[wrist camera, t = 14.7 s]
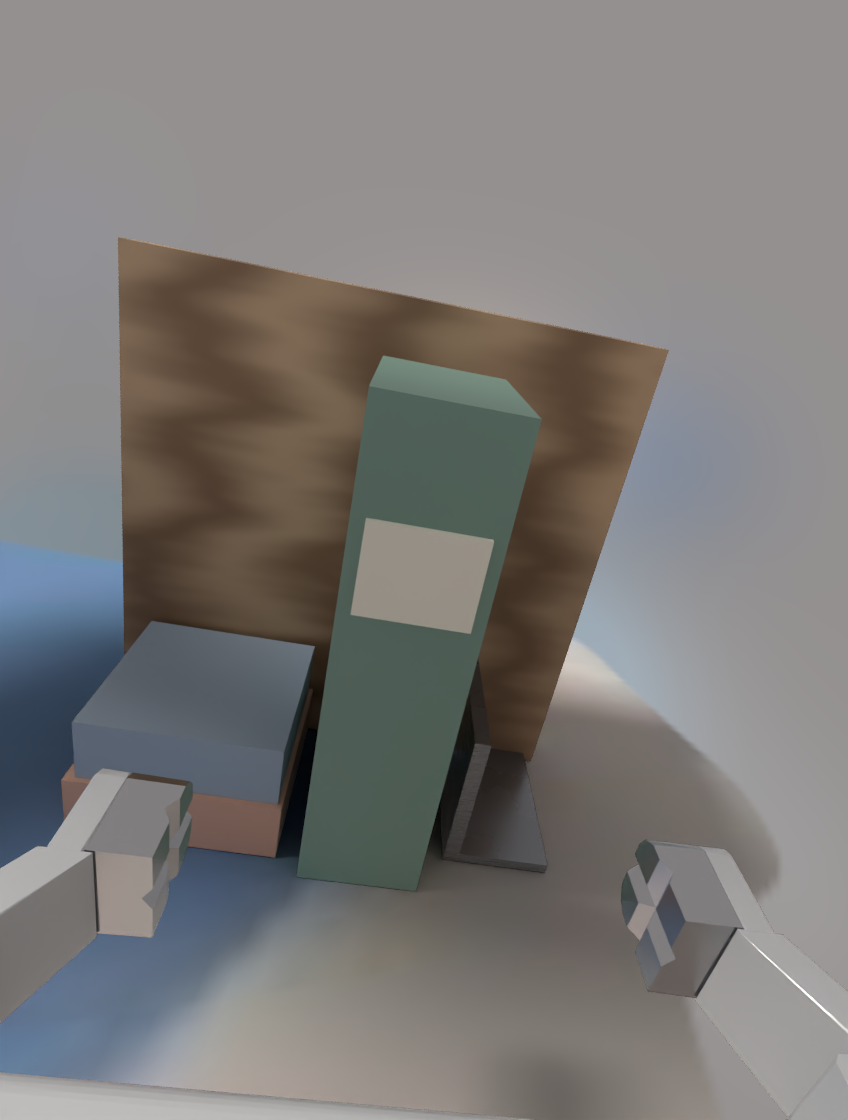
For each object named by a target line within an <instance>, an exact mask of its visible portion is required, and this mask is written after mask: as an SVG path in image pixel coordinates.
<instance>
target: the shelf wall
mask: <svg viewBox="0 0 848 1120" xmlns="http://www.w3.org/2000/svg"><path fill="white" fill-rule="evenodd" d="M118 255H119V256H118V262H119V324H120V325H119V327H120V391H121V392H120V393H121V457H122V458H121V459H122V460H121V461H122V522H123V524H122V526H123V594H124V655H125V654H126V653H127V651H128V650H129V649H130V648H131V646H132V645H133V644H134V643H135V641H136V640H137V639H138V638H139V636H140V635H141V634H142V633H143V631H144V630H145V629H146V627H147V626H148V625H149V624H150V622H151V621H155V622H162V623H168V624H174V625H181V626H187V627H194V628H200V629H207V630H213V631H219V632H226V633H232V634H239V635H245V636H251V637H258V638H264V639H271V640H277V641H283V642H290V643H296V644H303V645H309V646H315V648H314V656H313V663H312V670H311V678H310V685H309V689H313V694H312V701H311V708H310V715H309V722H308V728H310V729H317V730H318V727H319V720H320V713H321V706H322V700H323V693H324V686H325V679H326V673H327V666H328V659H329V652H330V646H331V639H332V632H333V625H334V619H335V612H336V605H337V598H338V592H339V585H340V578H341V571H342V565H343V558H344V551H345V544H346V538H347V531H348V524H349V517H350V511H351V504H352V497H353V490H354V484H355V477H356V470H357V463H358V457H359V450H360V443H361V436H362V430H363V423H364V416H365V409H366V403H367V396H368V389H369V385H370V383H371V381H372V378H373V376H374V374H375V372H376V370H377V368H378V366H379V363H380V361H381V359H382V357H383V355H384V356H389V357H394V358H399V359H404V360H409V361H414V362H419V363H424V364H429V365H435V366H440V367H445V368H450V369H455V370H460V371H465V372H470V373H475V374H480V375H485V376H491V377H496V378H501V379H506V380H507V381H508V382H509V383H510V384H511V386H512V387H513V388H514V389H515V390H516V391H517V392H518V393H519V394H520V395H521V397H522V398H523V399H524V400H525V401H526V402H527V403H528V404H529V405H530V407H531V408H532V409H533V410H534V411H535V412H536V413H537V414H538V415H539V417H540V418H541V419H542V420H541V424H540V428H539V432H538V435H537V439H536V443H535V447H534V450H533V454H532V458H531V462H530V465H529V469H528V473H527V477H526V480H525V484H524V488H523V492H522V495H521V499H520V503H519V507H518V510H517V514H516V518H515V522H514V525H513V529H512V533H511V537H510V540H509V544H508V548H507V552H506V555H505V559H504V563H503V566H502V570H501V574H500V578H499V581H498V585H497V589H496V593H495V596H494V600H493V604H492V608H491V611H490V615H489V619H488V623H487V626H486V630H485V634H484V638H483V641H482V645H481V649H480V653H479V656H478V660H479V666H480V673H481V679H482V686H483V693H484V699H485V706H486V712H487V719H488V725H489V732H490V739H491V745H492V746H491V748H492V749H499V750H506V751H513V752H519V753H523V754H524V759H525V760H531V759H532V756H533V753H534V750H535V747H536V744H537V741H538V738H539V735H540V732H541V729H542V726H543V723H544V720H545V717H546V714H547V711H548V708H549V705H550V702H551V699H552V696H553V693H554V690H555V687H556V684H557V681H558V678H559V675H560V672H561V669H562V666H563V663H564V660H565V657H566V654H567V651H568V648H569V645H570V642H571V640H572V637H573V633H574V631H575V628H576V625H577V622H578V619H579V616H580V613H581V610H582V607H583V604H584V601H585V598H586V595H587V592H588V589H589V586H590V583H591V580H592V577H593V574H594V571H595V568H596V565H597V562H598V559H599V556H600V553H601V550H602V547H603V544H604V541H605V538H606V535H607V532H608V529H609V526H610V523H611V521H612V517H613V515H614V512H615V509H616V506H617V502H618V500H619V497H620V494H621V491H622V488H623V485H624V482H625V479H626V476H627V473H628V470H629V467H630V464H631V461H632V458H633V455H634V452H635V449H636V446H637V443H638V440H639V437H640V434H641V431H642V428H643V425H644V422H645V419H646V416H647V413H648V410H649V407H650V404H651V401H652V399H653V396H654V393H655V389H656V387H657V384H658V381H659V377H660V375H661V372H662V369H663V366H664V363H665V360H666V357H667V354H668V350H666V349H662V348H659V347H655V346H650V345H646V344H641V343H636V342H631V341H626V340H622V339H616V338H612V337H606V336H602V335H597V334H592V333H587V332H583V331H578V330H572V329H568V328H563V327H558V326H553V325H548V324H544V323H539V322H534V321H529V320H524V319H519V318H514V317H509V316H505V315H500V314H495V313H490V312H485V311H480V310H475V309H470V308H466V307H461V306H456V305H450V304H446V303H441V302H436V301H431V300H427V299H422V298H416V297H412V296H407V295H402V294H397V293H392V292H388V291H382V290H378V289H373V288H368V287H363V286H358V285H353V284H348V283H344V282H338V281H334V280H329V279H324V278H318V277H314V276H309V275H305V274H299V273H295V272H290V271H285V270H280V269H275V268H270V267H265V266H260V265H256V264H251V263H246V262H241V261H236V260H231V259H227V258H222V257H216V256H212V255H207V254H202V253H197V252H192V251H188V250H183V249H178V248H173V247H168V246H163V245H158V244H153V243H149V242H144V241H139V240H132V239H126V238H118Z"/></svg>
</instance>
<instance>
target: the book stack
mask: <svg viewBox="0 0 848 1120" xmlns="http://www.w3.org/2000/svg"><path fill="white" fill-rule="evenodd" d="M314 648H315V646H309V645H303V644H296V643H290V642H283V641H277V640H271V639H264V638H258V637H251V636H245V635H239V634H232V633H226V632H219V631H213V630H207V629H200V628H194V627H187V626H181V625H174V624H168V623H162V622H155V621H151V622H150V624H149V625H148V626H147V627H146V629H145V630H144V631H143V633H142V634H141V635H140V636H139V638H138V639H137V640H136V641H135V643H134V644H133V645H132V646H131V648H130V649H129V650H128V651H127V653H126V654H125V655H124V656H123V658H122V659H121V660H120V662H119V663H118V664H117V665H116V667H115V668H114V669H113V670H112V672H111V673H110V674H109V675H108V677H107V678H106V679H105V680H104V682H103V683H102V684H101V685H100V687H99V688H98V689H97V691H96V692H95V693H94V694H93V696H92V697H91V698H90V699H89V701H88V702H87V703H86V704H85V706H84V707H83V708H82V709H81V711H80V712H79V713H78V714H77V716H76V717H75V718H74V720H73V721H72V737H73V754H74V763H73V764H72V766H71V767H70V768H69V770H68V771H67V772H66V774H65V775H64V777H63V778H62V779H61V786H62V800H63V814H64V820H65V819H66V817H67V816H68V814H69V813H70V811H71V810H72V808H73V807H74V805H75V804H76V802H77V801H78V799H79V798H80V796H81V795H82V793H83V792H84V790H85V789H86V787H87V786H88V784H89V783H90V781H91V779H92V778H93V776H94V775H95V774H96V773H98V772H99V771H100V770H101V769H103V768H104V769H111V770H117V771H124V772H130V773H140V774H146V775H153V776H159V777H166V778H172V779H178V780H185V781H190V782H192V783H193V798H192V800H191V803H190V805H189V807H188V810H187V811H188V812H189V814H190V815H191V816H192V825H191V833H190V839H189V843H188V847H196V848H203V849H211V850H219V851H227V852H235V853H243V854H251V855H258V856H266V857H274V858H275V857H276V853H277V849H278V845H279V841H280V837H281V833H282V829H283V825H284V821H285V817H286V813H287V809H288V805H289V801H290V798H291V794H292V790H293V786H294V782H295V778H296V774H297V770H298V766H299V762H300V758H301V754H302V750H303V746H304V742H305V738H306V734H307V730H308V722H309V715H310V708H311V701H312V694H313V689H309V685H310V678H311V670H312V663H313V656H314Z"/></svg>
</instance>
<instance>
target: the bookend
mask: <svg viewBox="0 0 848 1120" xmlns="http://www.w3.org/2000/svg"><path fill="white" fill-rule="evenodd" d="M491 746H492V745H491V739H490V732H489V725H488V719H487V712H486V706H485V699H484V693H483V686H482V679H481V673H480V666H479V660H477V664H476V668H475V671H474V675H473V679H472V683H471V686H470V690H469V694H468V698H467V701H466V705H465V709H464V713H463V716H462V720H461V724H460V728H459V731H458V735H457V739H456V743H455V746H454V750H453V754H452V758H451V761H450V765H449V769H448V773H447V776H446V780H445V784H444V788H443V791H442V795H441V799H440V804H441V830H442V857H443V859H445V860H453V861H460V862H468V863H476V864H484V865H491V866H499V867H507V868H514V869H522V870H530V871H537V872H545V871H546V869H547V866H548V865H547V860H546V856H545V851H544V847H543V842H542V837H541V833H540V828H539V824H538V819H537V814H536V810H535V805H534V801H533V796H532V791H531V787H530V782H529V777H528V773H527V768H526V764H525V759H524V754H523V753H519V752H513V751H506V750H499V749H492V748H491Z"/></svg>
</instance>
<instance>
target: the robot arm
mask: <svg viewBox="0 0 848 1120" xmlns="http://www.w3.org/2000/svg"><path fill="white" fill-rule="evenodd" d="M192 798H193V783H192V782H190V781H185V780H178V779H172V778H166V777H159V776H153V775H146V774H140V773H130V772H124V771H117V770H111V769H104V768H103V769H101V770H100V771H99V772H98V773H96V774H95V775H94V776H93V778H92V779H91V781H90V783H89V784H88V786H87V787H86V789H85V790H84V792H83V793H82V795H81V796H80V798H79V799H78V801H77V802H76V804H75V805H74V807H73V808H72V810H71V811H70V813H69V814H68V816H67V817H66V819H65V820H64V822H63V823H62V825H61V826H60V828H59V829H58V831H57V832H56V834H55V835H54V837H53V838H52V840H51V841H50V843H49V844H48V846H47V847H42V846H37V847H35V848H33V849H32V850H30V851H28V852H27V853H25V854H23V855H22V856H20V857H18V858H17V859H15V860H13V861H12V862H10V863H8V864H7V865H5V866H3V867H2V868H0V1023H2V1022H3V1021H4V1020H5V1019H6V1018H7V1017H8V1016H9V1015H10V1014H12V1013H13V1012H14V1011H15V1010H16V1009H17V1008H18V1007H19V1006H20V1005H22V1004H23V1003H24V1002H25V1001H26V1000H27V999H28V998H29V997H30V996H32V995H33V994H34V993H35V992H36V991H37V990H38V989H39V988H41V987H42V986H43V985H44V984H45V983H46V982H47V981H48V980H49V979H51V978H52V977H53V976H54V975H55V974H56V973H57V972H58V971H59V970H61V969H62V968H63V967H64V966H65V965H66V964H67V963H68V962H69V961H71V960H72V959H73V958H74V957H75V956H76V955H77V954H78V953H79V952H81V951H82V950H83V949H84V948H85V947H86V946H87V945H88V944H89V943H91V942H92V941H93V940H94V939H95V938H96V937H97V933H101V934H113V935H126V936H139V937H153V935H154V932H155V930H156V927H157V925H158V922H159V920H160V918H161V915H162V913H163V910H164V908H165V905H166V903H167V901H168V887H169V881H170V880H172V879H173V878H174V877H176V876H177V875H178V874H179V871H180V868H181V866H182V863H183V861H184V858H185V854H186V851H187V847H188V843H189V839H190V833H191V825H192V816H191V815H190V814H189V812H188V811H187V810H188V807H189V805H190V803H191V800H192ZM635 855H636V858H637V861H638V863H639V864H638V865H636V866H634V867H633V868H631V869H630V870H628V871H627V873H626V876H625V878H624V881H623V883H622V892H621V904H622V911H623V915H624V919H625V922H626V925H627V928H628V929H629V930H630V931H631V932H632V933H633V934H634V935H635V936H636V937H637V938H638V939H639V943H638V946H637V949H636V952H635V953H636V956H637V959H638V962H639V965H640V968H641V971H642V974H643V977H644V980H645V983H646V986H647V989H648V991H649V992H657V993H664V994H671V995H678V996H685V997H692V998H696V1000H695V1001H696V1002H697V1004H698V1005H699V1006H700V1007H701V1009H702V1010H703V1011H704V1012H705V1014H706V1015H707V1016H708V1018H709V1019H710V1020H711V1021H712V1022H713V1024H714V1025H715V1026H716V1028H717V1029H718V1030H719V1031H720V1033H721V1034H722V1035H723V1036H724V1038H725V1039H726V1040H727V1041H728V1043H729V1044H730V1045H731V1047H732V1048H733V1049H734V1050H735V1052H736V1053H737V1054H738V1055H739V1057H740V1058H741V1059H742V1061H743V1062H744V1063H745V1064H746V1066H747V1067H748V1068H749V1069H750V1071H751V1072H752V1073H753V1074H754V1076H755V1077H756V1078H757V1080H758V1081H759V1082H760V1083H761V1085H762V1086H763V1087H764V1088H765V1090H766V1091H767V1092H768V1093H769V1095H770V1096H771V1097H772V1098H773V1100H774V1101H775V1102H776V1104H777V1105H778V1106H779V1107H780V1108H781V1110H782V1111H783V1112H784V1114H785V1115H786V1116H787V1117H788V1118H787V1120H848V991H847V990H846V989H845V988H844V987H842V986H841V985H840V984H839V983H838V982H837V981H836V980H834V979H833V978H832V977H831V976H830V975H829V974H827V973H826V972H825V971H824V970H823V969H822V968H821V967H819V966H818V965H817V964H816V963H815V962H814V961H813V960H811V959H810V958H809V957H808V956H807V955H806V954H805V953H803V952H802V951H801V950H800V949H799V948H798V947H797V946H795V945H794V944H793V943H792V942H791V941H790V940H789V939H787V938H786V937H785V936H784V935H782V934H776V933H774V931H773V929H772V928H771V926H770V924H769V922H768V921H767V919H766V917H765V915H764V913H763V911H762V909H761V908H760V906H759V904H758V902H757V900H756V899H755V897H754V895H753V893H752V891H751V890H750V888H749V886H748V884H747V882H746V881H745V879H744V877H743V875H742V873H741V872H740V870H739V868H738V866H737V864H736V863H735V861H734V859H733V857H732V856H731V854H730V853H728V852H727V851H726V850H725V849H719V848H710V847H702V846H694V845H686V844H678V843H669V842H661V841H652V840H644V841H643V842H642V843H641V844H640V845H639V847H638V849H637V851H636V853H635ZM0 1120H533V1119H522V1118H511V1117H500V1116H488V1115H477V1114H466V1113H454V1112H443V1111H431V1110H420V1109H409V1108H397V1107H386V1106H374V1105H363V1104H352V1103H340V1102H329V1101H317V1100H306V1099H295V1098H284V1097H272V1096H261V1095H250V1094H238V1093H227V1092H216V1091H205V1090H193V1089H182V1088H171V1087H159V1086H148V1085H137V1084H126V1083H114V1082H103V1081H92V1080H80V1079H69V1078H58V1077H47V1076H35V1075H24V1074H13V1073H2V1072H0Z"/></svg>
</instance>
